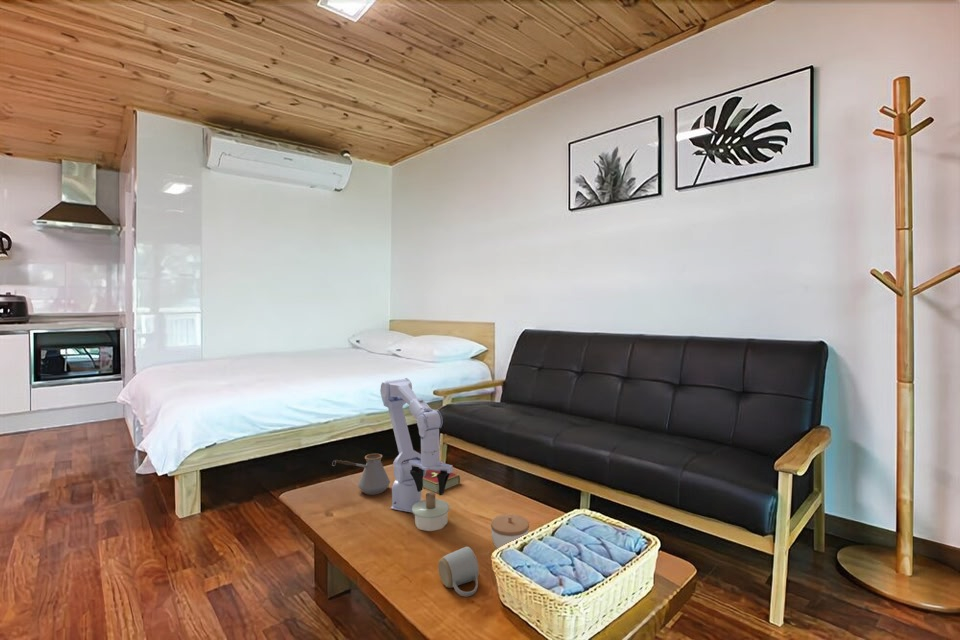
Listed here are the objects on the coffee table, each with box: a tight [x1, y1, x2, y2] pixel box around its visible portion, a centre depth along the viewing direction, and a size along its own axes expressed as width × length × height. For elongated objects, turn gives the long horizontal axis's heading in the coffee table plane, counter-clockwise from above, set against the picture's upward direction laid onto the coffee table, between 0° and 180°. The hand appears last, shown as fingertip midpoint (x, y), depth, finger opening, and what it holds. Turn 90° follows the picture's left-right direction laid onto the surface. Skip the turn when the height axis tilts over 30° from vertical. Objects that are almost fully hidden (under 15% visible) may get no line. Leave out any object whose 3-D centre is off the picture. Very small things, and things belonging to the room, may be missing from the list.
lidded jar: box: [490, 513, 530, 549], centre depth 131 cm, size 11×11×9 cm
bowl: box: [414, 512, 448, 532], centre depth 147 cm, size 9×9×4 cm
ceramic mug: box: [437, 546, 480, 598], centre depth 114 cm, size 11×8×8 cm
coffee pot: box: [331, 453, 391, 496], centre depth 169 cm, size 21×12×15 cm, turn 130°
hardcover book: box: [423, 470, 461, 494], centre depth 181 cm, size 12×21×4 cm, turn 47°
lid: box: [411, 491, 450, 518], centre depth 146 cm, size 12×12×5 cm
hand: (430, 492), depth 146 cm, fingers open, 7 cm apart
